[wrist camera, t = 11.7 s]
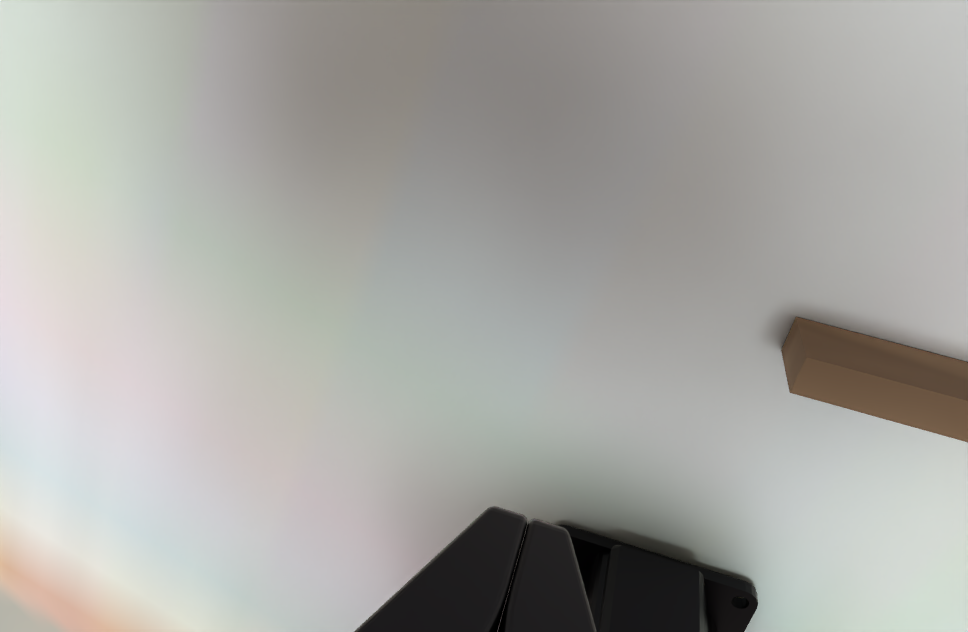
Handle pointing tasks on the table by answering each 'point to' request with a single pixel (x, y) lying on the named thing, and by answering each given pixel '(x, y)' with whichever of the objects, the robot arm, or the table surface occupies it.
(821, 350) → the finger box
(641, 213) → the table surface
